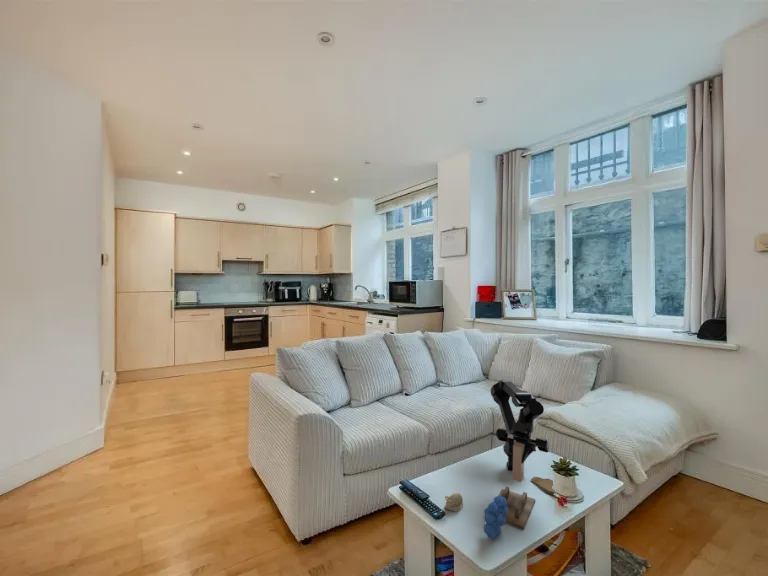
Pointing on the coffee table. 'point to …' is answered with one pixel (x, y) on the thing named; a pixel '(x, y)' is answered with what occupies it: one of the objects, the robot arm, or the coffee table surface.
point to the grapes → (495, 516)
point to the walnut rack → (517, 507)
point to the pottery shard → (543, 484)
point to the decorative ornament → (454, 502)
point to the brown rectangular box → (518, 462)
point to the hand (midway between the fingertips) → (517, 461)
